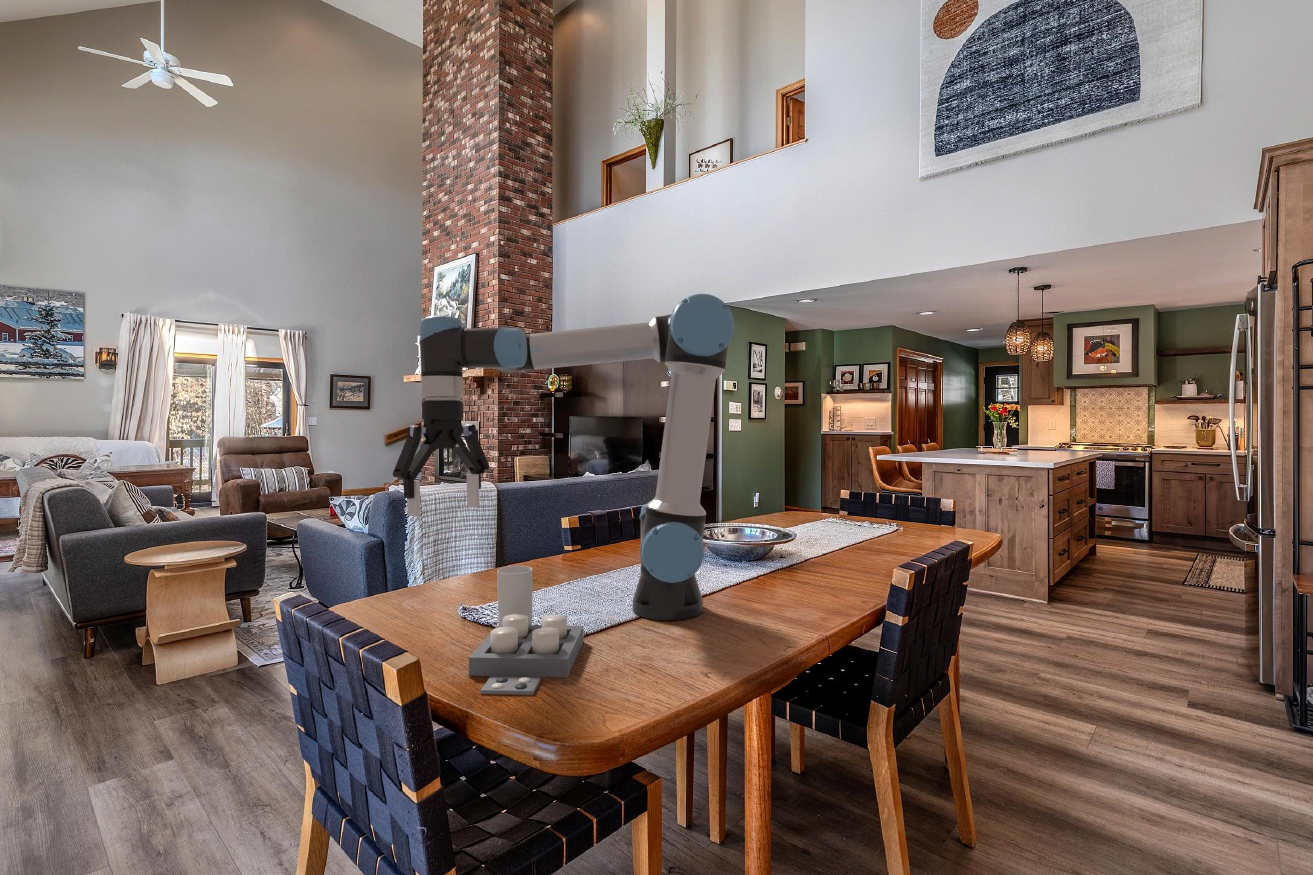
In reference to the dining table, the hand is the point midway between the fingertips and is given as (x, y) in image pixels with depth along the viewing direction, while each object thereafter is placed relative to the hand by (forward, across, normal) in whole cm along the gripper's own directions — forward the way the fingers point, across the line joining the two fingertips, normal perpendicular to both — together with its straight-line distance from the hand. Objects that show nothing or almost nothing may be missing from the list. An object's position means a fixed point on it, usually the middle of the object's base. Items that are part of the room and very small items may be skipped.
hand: (445, 511), depth 121 cm
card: (+24, +10, +28) cm, 38 cm away
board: (+24, 0, +22) cm, 32 cm away
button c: (+22, +1, +27) cm, 34 cm away
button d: (+22, +5, +21) cm, 30 cm away
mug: (+24, -9, +8) cm, 27 cm away
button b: (+22, -1, +17) cm, 28 cm away
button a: (+22, -5, +23) cm, 32 cm away
